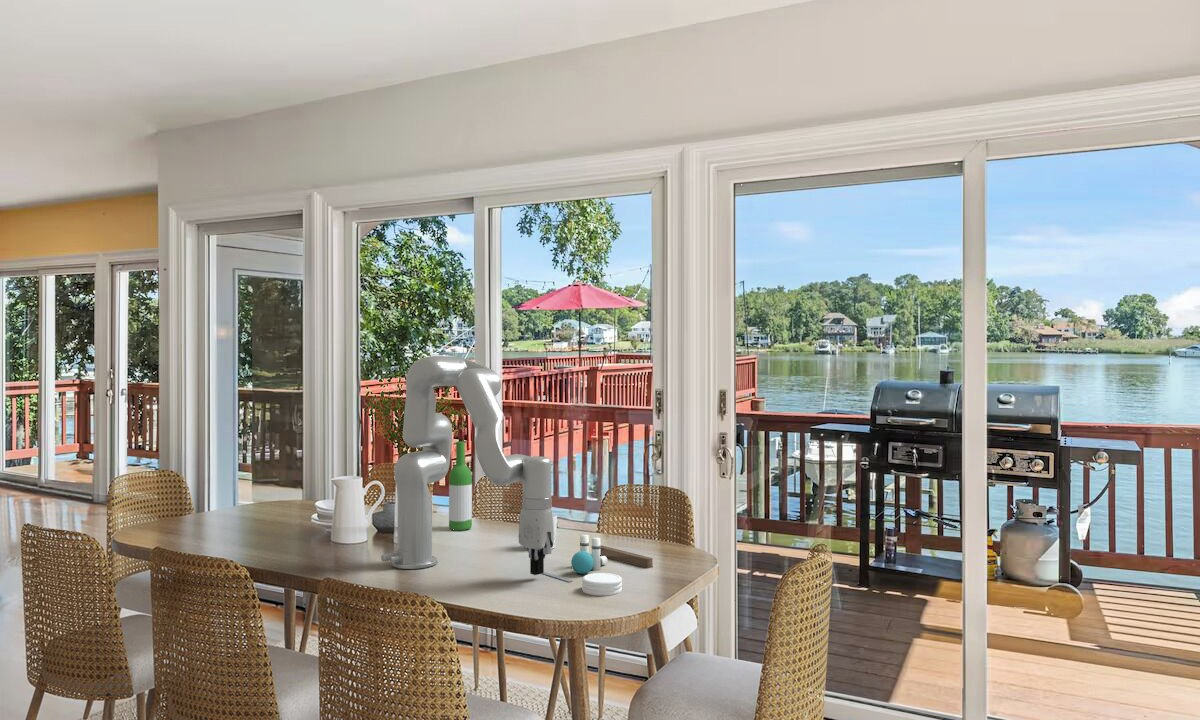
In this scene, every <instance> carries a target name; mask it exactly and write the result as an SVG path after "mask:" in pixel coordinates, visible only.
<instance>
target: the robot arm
mask: <svg viewBox="0 0 1200 720" xmlns="http://www.w3.org/2000/svg"><path fill="white" fill-rule="evenodd" d="M451 386H452V387H456V389H457V392H458V393H459V396H460V398H461V400H462V403H463V405H464V407H465V409H466V411H467V413H468V415H469V417H470V420H471V422H472V424H473V427H474V428H475V429H474V430H475V431H474V432H475V433H474V448H475V454H476V458H477V460H478V463H479V465H480V467H481V468H482V471H483V473H484V475H485V476H486V478H487V479H488V481H489V482H490V483H491V484H493V485H495V486H497V487H499V486H501V487H502V486H503V487H504V486H508V485H510V484H515V483H520V482H522V508H521V509H520V514H519V521H518V543H519V545H521V546H522V547H523V548H524V549H525V550H526V551H527V553H528V558H529V563H530V564H529V565H530V567H529V572H530V574H531V575H533V576H538V575H544V574H543V573H544V572H545V571H544V570H545V569H544V566H545V563H544V561H545V560H544V559H545V558H546V556H547V555H551V554H552V549H551V547H553V544H554V526H553V516H552V514H553V511H552V462H551V459H550V458H549V457H547V456H542V455H541V456H536V455H535V456H530V455H526V454H521V453H520V454H519V453H514V454H508V455H505V454H504V453H503V450H502V449H501V446H500V444H499V439H498V430H499V427H500V425H501V423H503V421H504V419H505V414H504V412H503V410H502V408H501V404H500V403H499V402H498V398H497V397H496V396H497V395H498V394H499V393H500V391H501V389H502V381H501V378H500V376H499V374H498V373H497V372H496V371H495V370H493V368H492V369H491V368H489V367H487V366H484V365H481V364H479V363H477V362H474V361H472V360H470V359H467V358H464V357H460V356H451V355H450V356H448V355H432V356H431V355H430V356H425V357H421V358H419V359H417V360H416V361H414V362H413V363H412V364H411V365H410V367H409V368H408V371H407V373H406V379H405V404H404V413H403V414H404V415H403V425H402V426H403V427H402V439H403V442H404V443H405V445H407V446H408V447H410V448H414V449H416V448H419V449H421V448H422V450H420V451H414V452H413V451H412V452H409V453H405V454H403V455H401V456H400V457H399V458H398V459H397V460H396V462H395V464H394V467H393V468H394V469H393V474H394V475H393V476H394V480H395V487H396V494H397V495H396V496H397V498H396V499H397V548H394V549H393V550H394V551H392V552H391V553H386V554H384V553H383V554H381V556H380V558H381V562H383V563H384V562H390V563H391V566H392V567H394V568H396V569H405V570H414V569H415V570H417V569H418V570H419V569H425V568H429V567H433V566H435V565H437V564H438V560H439V559H438V557H437V556H434V555H433V501H432V500H433V498H432V494H431V490H430V489H429V487H428V484H431V483H432V484H433V483H436V482H439V481H441V480H443V479H444V478H445V477H446V476H447V474H448V472H449V470H450V469H449V468H450V465H451V464H450V463H451V453H452V445H453V444H452V442H453V427H452V424H451V422H450V420H449V418H448V417H447V416H446V415H445V414H442V413H440V412H436V408H437V398H436V397H437V395H436V392H435V390H434V388H435V387H451Z"/></svg>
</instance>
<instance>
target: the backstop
mask: <svg viewBox="0 0 1200 720" xmlns="http://www.w3.org/2000/svg"><path fill="white" fill-rule="evenodd" d="M600 545H601V544H600ZM600 555H601V556H606V557H608V558H607V559H611V558H612V559H611V560H615V561H618V560H619V561H618V562H622V561H623V562H622V563H626V562H627V563H626V564H630V565H633V564H634V565H635V566H638V567H641V568H645V569H650V568H653V562H654V561H653V559H654V557H650V556H646V555H643V554H642V555H641V554H638V553H634V552H629V551H626V550H621V549H618V548H613V547H610V546H605V545H601V549H600ZM601 556H600V557H601ZM634 565H633V566H634Z"/></svg>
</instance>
